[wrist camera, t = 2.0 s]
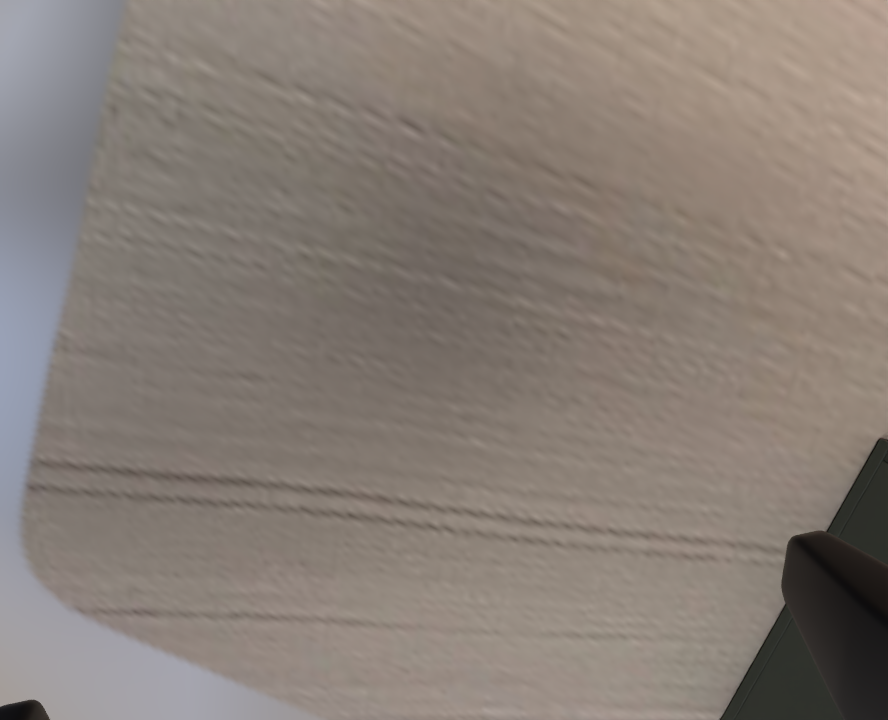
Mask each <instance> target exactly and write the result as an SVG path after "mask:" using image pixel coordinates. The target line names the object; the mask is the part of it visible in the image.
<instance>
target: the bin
mask: <svg viewBox="0 0 888 720" xmlns="http://www.w3.org/2000/svg"><path fill="white" fill-rule="evenodd" d="M828 533H830V534H832V535H834V536H835V537H837V538H839V539H841V540H843V541H845V542H846V543H848V544H850V545H852V546H854V547H856V548H857V549H859V550H861V551H863V552H865V553H866V554H868V555H870V556H872V557H874V558H876V559H877V560H879V561H881V562H883V563H885V564H887V565H888V440H885V439H880V440H879V442H878V444H877V445H876V447H875V449H874V451H873V452H872V454H871V456H870V458H869V460H868V461H867V463H866V465H865V467H864V468H863V470H862V472H861V474H860V475H859V477H858V479H857V481H856V483H855V484H854V486H853V488H852V490H851V491H850V493H849V495H848V497H847V498H846V500H845V502H844V504H843V506H842V507H841V509H840V511H839V513H838V514H837V516H836V518H835V520H834V521H833V523H832V525H831V527H830V528H829V530H828ZM721 720H844V719H843V717H842V716H841V714H840V712H839V710H838V708H837V706H836V704H835V702H834V700H833V699H832V697H831V695H830V693H829V691H828V688H827V686H826V684H825V682H824V680H823V678H822V676H821V674H820V672H819V670H818V668H817V666H816V664H815V662H814V660H813V658H812V656H811V654H810V652H809V649H808V647H807V645H806V643H805V641H804V639H803V637H802V635H801V633H800V631H799V629H798V627H797V625H796V623H795V621H794V619H793V617H792V615H791V613H790V610H789V608H788V606H787V605H786V606H785V608H784V610H783V612H782V613H781V615H780V617H779V619H778V620H777V622H776V624H775V626H774V627H773V629H772V631H771V633H770V635H769V636H768V638H767V640H766V642H765V643H764V645H763V647H762V649H761V650H760V652H759V654H758V656H757V658H756V659H755V661H754V663H753V665H752V666H751V668H750V670H749V672H748V673H747V675H746V677H745V679H744V681H743V682H742V684H741V686H740V688H739V689H738V691H737V693H736V695H735V696H734V698H733V700H732V702H731V704H730V705H729V707H728V709H727V711H726V712H725V714H724V716H723V718H722V719H721Z"/></svg>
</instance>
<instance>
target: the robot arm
mask: <svg viewBox="0 0 888 720" xmlns="http://www.w3.org/2000/svg"><path fill="white" fill-rule="evenodd" d="M781 585H782V593H783V596H784V600H785V602H786V604H787V606H788V608H789V610H790V613H791V615H792V617H793V619H794V621H795V623H796V625H797V627H798V629H799V631H800V633H801V635H802V637H803V639H804V641H805V643H806V645H807V647H808V649H809V652H810V654H811V656H812V658H813V660H814V662H815V664H816V666H817V668H818V670H819V672H820V674H821V676H822V678H823V680H824V682H825V684H826V686H827V688H828V691H829V693H830V695H831V697H832V699H833V700H834V702H835V704H836V706H837V708H838V710H839V712H840V714H841V716H842V717H843V719H844V720H888V565H887V564H885V563H883V562H881V561H879V560H877V559H876V558H874V557H872V556H870V555H868V554H866V553H865V552H863V551H861V550H859V549H857V548H856V547H854V546H852V545H850V544H848V543H846V542H845V541H843V540H841V539H839V538H837V537H835V536H834V535H832V534H830V533H828V532H824V531H814V532H809V533H805V534H800V535H795V536H793V537H792V538H791V539H790V540H789V542H788V545H787V551H786V557H785V563H784V569H783V575H782V584H781ZM0 720H50V719H49V717H48V715H47V713H46V711H45V709H44V708H43V706H42V705H41V703H40V702H38V701H36V700H27V701H22V702H18V703H13V704H8V705H4V706H2V707H0Z"/></svg>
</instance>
